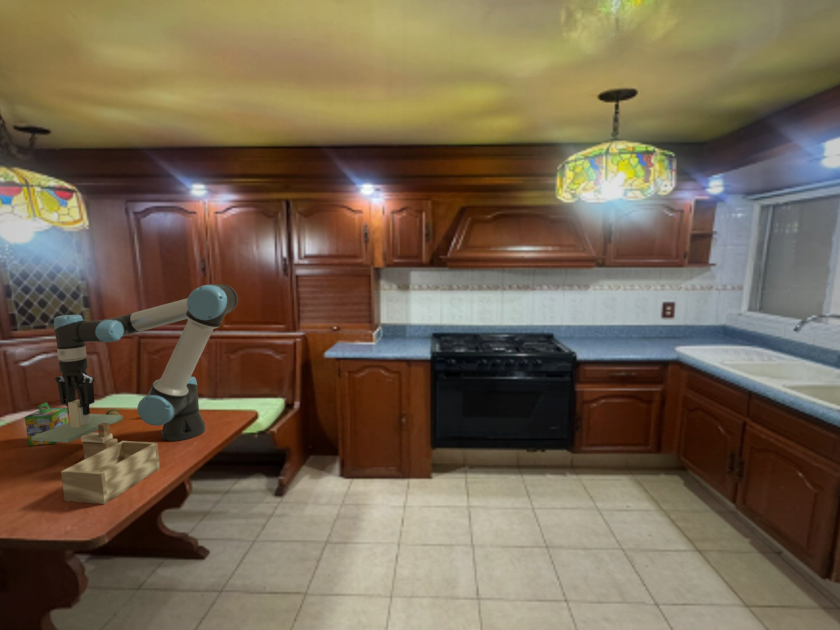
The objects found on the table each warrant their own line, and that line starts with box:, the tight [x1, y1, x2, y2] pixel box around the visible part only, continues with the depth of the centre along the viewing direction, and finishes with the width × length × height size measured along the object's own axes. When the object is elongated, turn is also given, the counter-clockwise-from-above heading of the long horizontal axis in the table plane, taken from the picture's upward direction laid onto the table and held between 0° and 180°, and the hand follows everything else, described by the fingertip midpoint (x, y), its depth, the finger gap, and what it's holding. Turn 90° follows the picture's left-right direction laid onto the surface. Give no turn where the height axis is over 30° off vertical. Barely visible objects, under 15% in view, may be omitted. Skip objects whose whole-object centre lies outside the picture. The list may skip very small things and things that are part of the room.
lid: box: [31, 398, 124, 443], centre depth 142 cm, size 21×14×11 cm, turn 172°
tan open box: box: [60, 438, 161, 505], centre depth 123 cm, size 20×22×10 cm
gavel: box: [105, 407, 123, 425], centre depth 169 cm, size 21×5×10 cm
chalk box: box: [24, 401, 70, 447], centre depth 154 cm, size 9×9×15 cm
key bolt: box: [80, 423, 114, 443], centre depth 130 cm, size 4×8×6 cm, turn 82°
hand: (80, 423), depth 143 cm, fingers closed on lid, 4 cm apart
